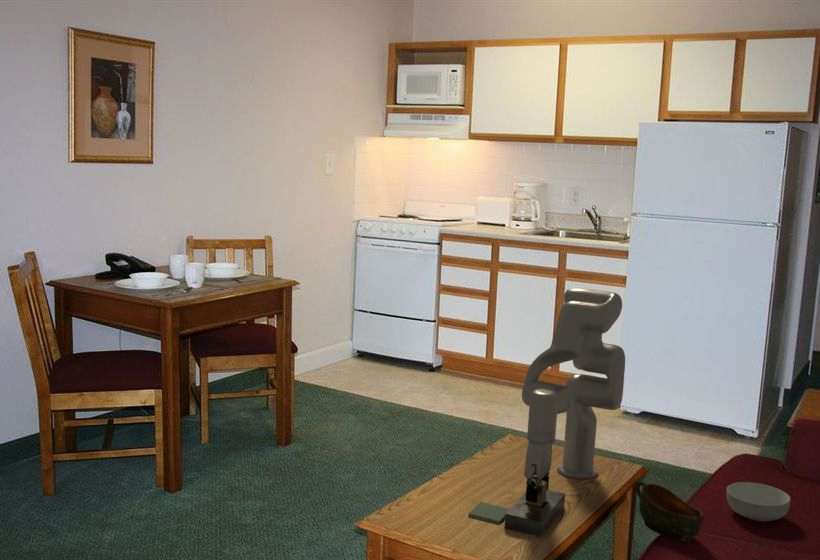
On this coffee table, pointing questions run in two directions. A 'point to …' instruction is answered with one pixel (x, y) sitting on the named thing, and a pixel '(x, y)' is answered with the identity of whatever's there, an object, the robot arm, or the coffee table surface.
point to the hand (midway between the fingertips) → (536, 495)
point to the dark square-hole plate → (534, 514)
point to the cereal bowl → (758, 501)
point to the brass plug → (540, 495)
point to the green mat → (488, 512)
